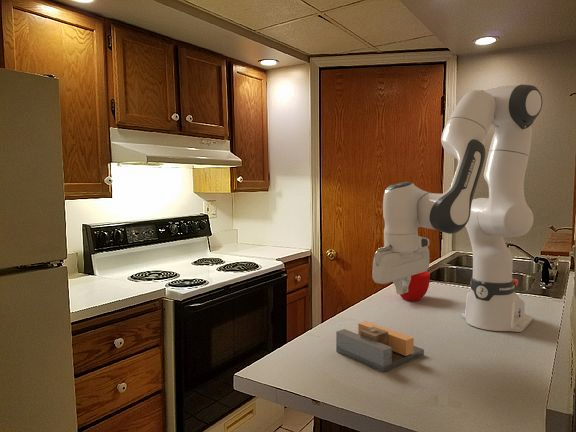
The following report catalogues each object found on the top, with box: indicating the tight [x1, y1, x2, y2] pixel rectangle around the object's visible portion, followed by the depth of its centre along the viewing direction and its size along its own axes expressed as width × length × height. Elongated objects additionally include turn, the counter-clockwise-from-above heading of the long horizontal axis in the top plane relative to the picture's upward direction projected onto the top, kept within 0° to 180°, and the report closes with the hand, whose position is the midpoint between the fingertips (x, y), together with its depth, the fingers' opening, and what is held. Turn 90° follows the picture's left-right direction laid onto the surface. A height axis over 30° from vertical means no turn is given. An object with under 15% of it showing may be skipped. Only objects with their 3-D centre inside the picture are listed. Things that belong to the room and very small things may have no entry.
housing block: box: [360, 326, 388, 346], centre depth 112 cm, size 5×5×5 cm
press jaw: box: [357, 320, 415, 356], centre depth 115 cm, size 3×16×4 cm, turn 38°
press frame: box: [335, 328, 425, 374], centre depth 113 cm, size 16×16×6 cm
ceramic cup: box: [398, 270, 431, 302], centre depth 161 cm, size 13×17×10 cm
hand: (402, 293), depth 118 cm, fingers closed
